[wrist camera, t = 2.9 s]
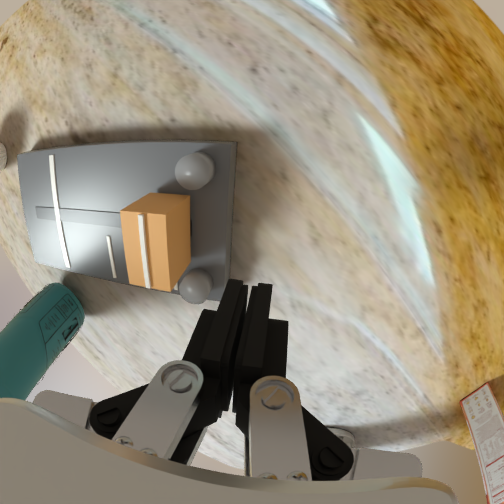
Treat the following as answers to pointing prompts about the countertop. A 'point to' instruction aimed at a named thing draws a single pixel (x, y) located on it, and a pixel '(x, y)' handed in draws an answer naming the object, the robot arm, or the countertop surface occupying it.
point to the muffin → (2, 157)
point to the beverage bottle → (37, 339)
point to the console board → (123, 194)
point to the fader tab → (157, 239)
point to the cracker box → (487, 439)
